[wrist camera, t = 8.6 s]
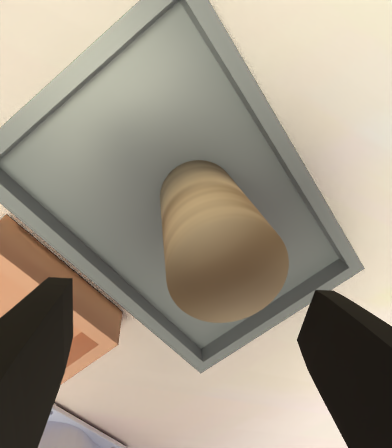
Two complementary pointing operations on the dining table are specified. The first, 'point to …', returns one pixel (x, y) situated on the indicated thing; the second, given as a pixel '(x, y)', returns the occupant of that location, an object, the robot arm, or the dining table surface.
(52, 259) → the square terracotta tray
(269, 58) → the dining table surface
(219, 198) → the birch peg
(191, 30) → the slate tray
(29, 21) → the dining table surface
